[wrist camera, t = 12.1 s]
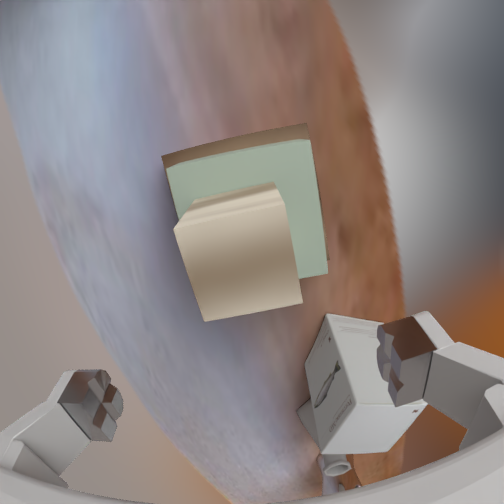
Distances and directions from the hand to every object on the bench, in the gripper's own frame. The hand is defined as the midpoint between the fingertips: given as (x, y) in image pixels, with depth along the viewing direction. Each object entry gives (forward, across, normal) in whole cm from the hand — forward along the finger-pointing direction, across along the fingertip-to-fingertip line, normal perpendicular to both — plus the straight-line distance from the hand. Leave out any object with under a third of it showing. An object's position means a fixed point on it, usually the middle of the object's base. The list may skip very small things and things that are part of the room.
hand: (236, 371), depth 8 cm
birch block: (+13, 0, 0) cm, 13 cm away
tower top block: (+17, -1, 0) cm, 17 cm away
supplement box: (+20, -7, +18) cm, 28 cm away
